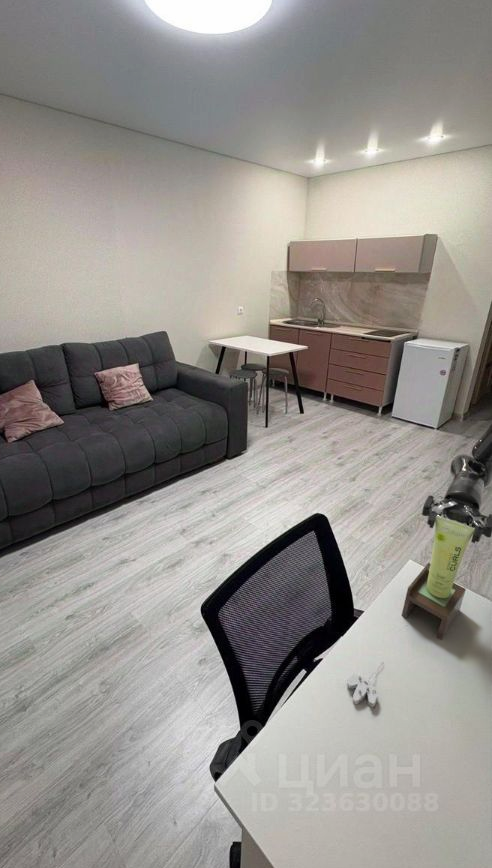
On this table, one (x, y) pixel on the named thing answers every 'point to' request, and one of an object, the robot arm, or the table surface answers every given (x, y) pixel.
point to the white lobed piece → (362, 689)
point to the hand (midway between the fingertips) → (452, 531)
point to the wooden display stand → (433, 601)
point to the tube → (447, 555)
